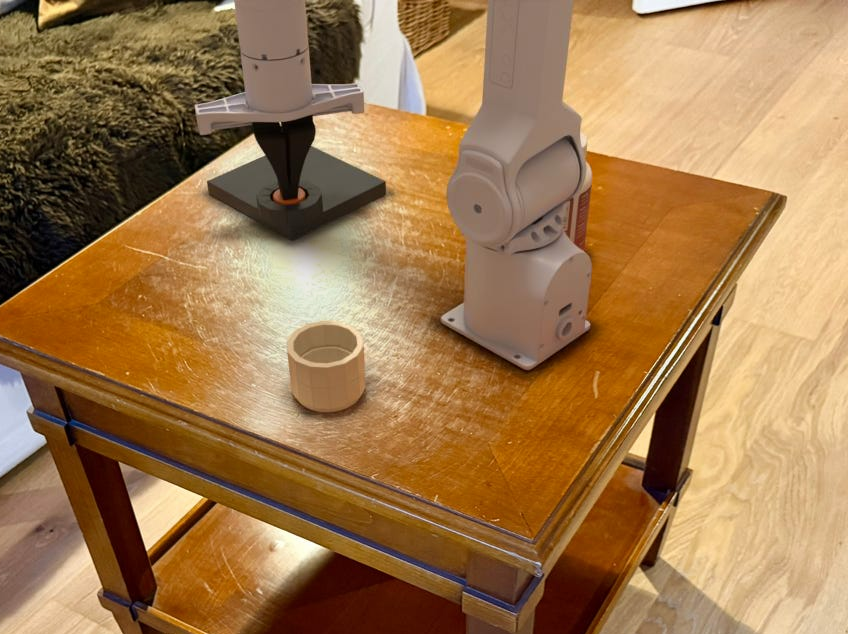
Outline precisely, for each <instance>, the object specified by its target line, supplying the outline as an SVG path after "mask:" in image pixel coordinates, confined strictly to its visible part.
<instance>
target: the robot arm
mask: <svg viewBox="0 0 848 634" xmlns="http://www.w3.org/2000/svg"><path fill="white" fill-rule="evenodd" d="M233 2H234V11H235V19H236V27H237V34H238V35H237V37H238V43H239V45H238V46H239V53H240V60H241V69H242V76H243V83H244V84H243V85H244V91H243V92H241V93H237V94H234V95H230V96H227V97H223V98H220V99H217V100H213V101H208V102H204V103H198V104H194V111H195V118H196V124H197V130H198V132H199V135H200V136H206V135H211V134H213V131H217V130H225V129H231V128H239V127H245V126H250V127H251V130H252V132H253V133H252V134H253V136H254V139H255V141H256V143H257V144H258V146H259V148H260V149H261V151H262V152H263V154H264V156H265V155H266V157H267V159H268V160H269V162H270V164H271V166H272V168H273V170H274V172H275V174H276V177H277V180H278V184H279V189H280V193H281V196H282V198H283V200H290V199H297V198H298V189H299V182H300V177H301V173H302V169H303V165H304V162H305V159H306V156H307V154H308V152H309V149H310V147H311V146H312V145H313V143H314V142H315V138H316V134H317V128H316V125H315V122H314V117H318V116H319V117H320V116H326V115H333V114H334V115H335V114H341V113H348V112H351V113H352V114H353V115H357V114H359V115H360V114H364V113H365V93H364V89H363V88H362V86H361V85H360V83H359V82H357V83H356V82H355V83H345V84H340V83H339V84H338V83H337V84H330V83H329V84H327V83H326V84H325V83H312V74H311V73H312V71H311V59H310V45H309V36H308V35H309V34H308V22H307V21H308V20H307V10H306V9H307V7H306V0H233ZM574 3H575V0H487V9H486V10H487V11H486V12H487V13H486V15H487V16H486V28H485V29H486V30H485V44H484V46H485V49H484V63H483V64H484V65H483V80H482V82H483V83H482V99H481V104H480V107H479V109H478V111H477V113H476V114H475V116H474V118H473V119H472V121H471V123H470V124H469V126H468V128H467V129H466V131H465V132H464V135H463V136H462V138H461V140H460V142H459V144H458V159H457V163H456V166H455V168H454V171H453V172H452V174H451V175H450V177H449V180H448V182H447V187H446V204H447V207H448V212H449V214H450V217H451V219H452V220H453V222H454V224H455V226H456V227H457V229H458V230H459V231H460V232H461V236H462V237H463V238H464V239H465V259H464V289H463V290H464V292H463V302H462V303H461V304H459V305H457V306H455V307H454V308H452V309H451V310H449V311H447V312H446V313H444V314H442V315H441V316H440V323H441V324H443V325H445V326H446V327H448V328H449V329H451V330H452V331H455V332H456V333H458V334H460V335H463V336H464V337H465V338H467V339H469V340H471V341H473V342H474V343H476V344H478V345H480V346H481V347H484V348H485V349H486V350H489V351H491V352H492V353H494V354H496V355H497V356H499V357H501V358H503V359H504V360H507V361H508V362H510V363H512V364H514V365H515V366H517V367H519V368H521V369H522V370H526V371H530V370H532V369H534V368H535V367H537V366H539V364H541V363H542V362H544V361H545V360H547V359H548V358H550V357H551V356H553V355H554V354H556V353H557V352H559V351H561V349H563V348H564V347H565V346H567V345H569V344H570V343H571V342H574V340H576V339H578V338H579V337H580V336H582V335H583V334H584V333H586V332H587V331H589V330H590V328H591V323H590V321H588V320H587V314H588V313H587V312H588V305H589V298H590V289H591V282H592V274H593V263H592V259H591V257H590V255H589V254H588V253H587V252H585V250H584V251H583V250H581V249H580V248H578V247H577V246H576V245H575V244H574V243H573V242H572V241H571V240H570V239H569V238H568V236H567V235H566V233H565V231H564V229H563V217H565V216H566V209H567V200H569V199H571V198H572V197H574V196H575V195H576V194H577V193H578V192H579V191H580V189H581V188H582V186H583V184H584V181H585V178H586V162H587V160H586V156H585V155H584V152H583V149H582V145H581V140H580V132H581V129H582V121H583V118H582V116H581V114H580V113H578V112H577V111H576V110H575V109H574V108H573V107H571V106H570V105H568V104H567V103H565V102H564V101H563V100H564V99H563V98H564V90H565V81H566V71H567V65H568V64H567V63H568V55H569V45H570V38H571V29H572V20H573V13H574V12H573V11H574Z"/></svg>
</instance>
